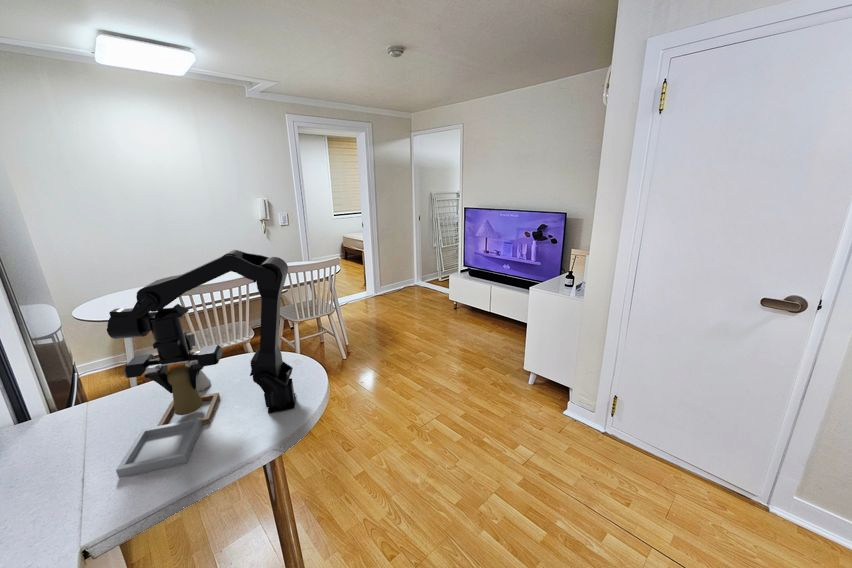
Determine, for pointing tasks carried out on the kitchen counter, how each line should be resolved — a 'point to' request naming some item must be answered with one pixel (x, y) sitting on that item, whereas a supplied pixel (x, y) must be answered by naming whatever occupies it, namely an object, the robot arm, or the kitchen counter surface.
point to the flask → (201, 379)
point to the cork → (183, 391)
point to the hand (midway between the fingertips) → (184, 390)
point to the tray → (160, 448)
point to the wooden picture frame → (205, 420)
